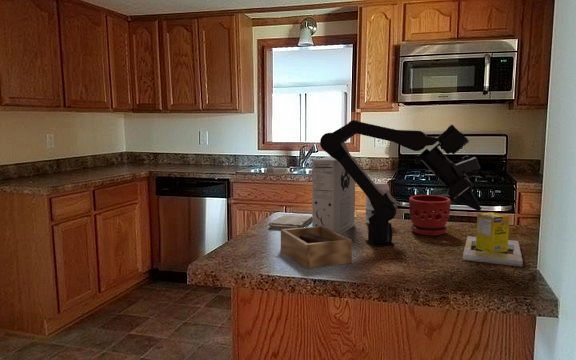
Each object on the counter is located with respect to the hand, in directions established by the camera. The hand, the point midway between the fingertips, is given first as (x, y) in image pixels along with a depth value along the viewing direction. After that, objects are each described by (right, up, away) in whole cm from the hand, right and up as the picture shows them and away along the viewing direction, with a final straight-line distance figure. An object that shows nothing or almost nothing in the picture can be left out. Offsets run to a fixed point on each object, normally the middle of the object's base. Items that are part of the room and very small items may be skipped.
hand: (478, 207), depth 125 cm
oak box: (-46, -13, -3) cm, 48 cm away
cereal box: (-38, -10, +27) cm, 47 cm away
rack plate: (+4, -13, 0) cm, 13 cm away
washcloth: (-52, -9, +36) cm, 64 cm away
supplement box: (+4, -13, 0) cm, 14 cm away
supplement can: (-21, -8, +39) cm, 45 cm away
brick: (-45, -13, 0) cm, 47 cm away
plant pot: (-7, -10, +24) cm, 27 cm away
